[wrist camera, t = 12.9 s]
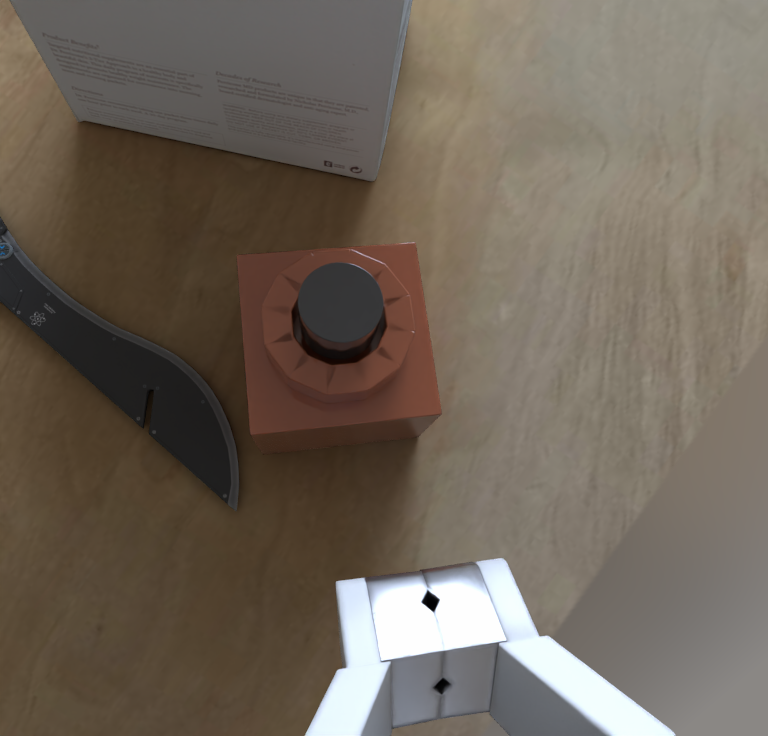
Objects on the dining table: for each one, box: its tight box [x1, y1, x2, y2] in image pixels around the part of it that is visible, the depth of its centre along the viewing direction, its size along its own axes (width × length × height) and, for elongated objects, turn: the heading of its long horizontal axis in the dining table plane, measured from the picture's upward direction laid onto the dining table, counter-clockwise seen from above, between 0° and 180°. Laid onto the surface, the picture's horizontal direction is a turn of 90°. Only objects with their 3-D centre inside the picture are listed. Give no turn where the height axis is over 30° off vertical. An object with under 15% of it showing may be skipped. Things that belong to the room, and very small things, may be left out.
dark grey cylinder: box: [298, 262, 384, 360], centre depth 24 cm, size 3×3×2 cm
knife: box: [0, 217, 239, 511], centre depth 32 cm, size 32×4×1 cm, turn 50°
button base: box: [237, 242, 442, 455], centre depth 29 cm, size 8×8×8 cm
